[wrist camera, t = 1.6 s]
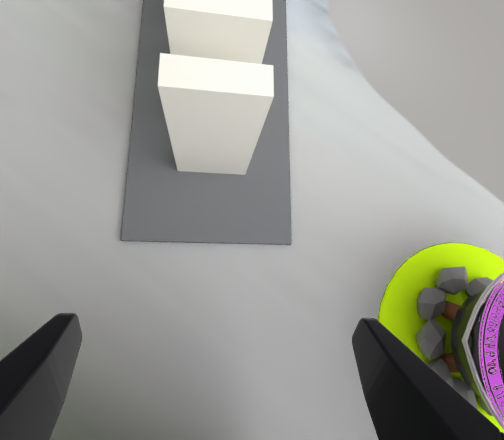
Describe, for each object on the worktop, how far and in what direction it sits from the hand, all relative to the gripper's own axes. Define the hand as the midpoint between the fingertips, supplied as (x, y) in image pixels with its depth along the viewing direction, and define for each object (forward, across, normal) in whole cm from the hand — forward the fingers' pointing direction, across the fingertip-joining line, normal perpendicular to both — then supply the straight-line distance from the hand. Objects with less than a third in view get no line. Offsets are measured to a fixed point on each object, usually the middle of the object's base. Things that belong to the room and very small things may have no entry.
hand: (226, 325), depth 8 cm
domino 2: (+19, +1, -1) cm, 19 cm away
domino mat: (+22, +1, -4) cm, 23 cm away
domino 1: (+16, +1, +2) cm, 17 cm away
